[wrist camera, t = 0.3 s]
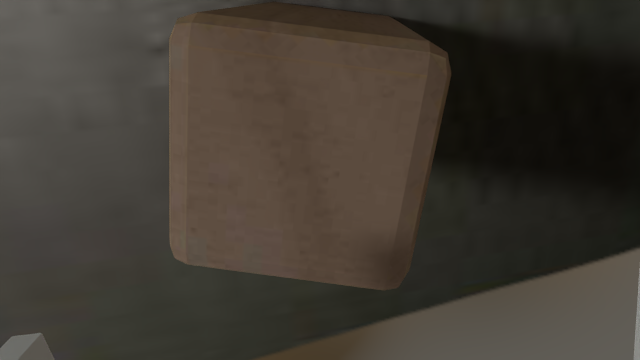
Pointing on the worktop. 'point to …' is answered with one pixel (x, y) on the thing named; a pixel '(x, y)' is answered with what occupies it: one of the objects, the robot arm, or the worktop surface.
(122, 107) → the worktop surface
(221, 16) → the wooden block
